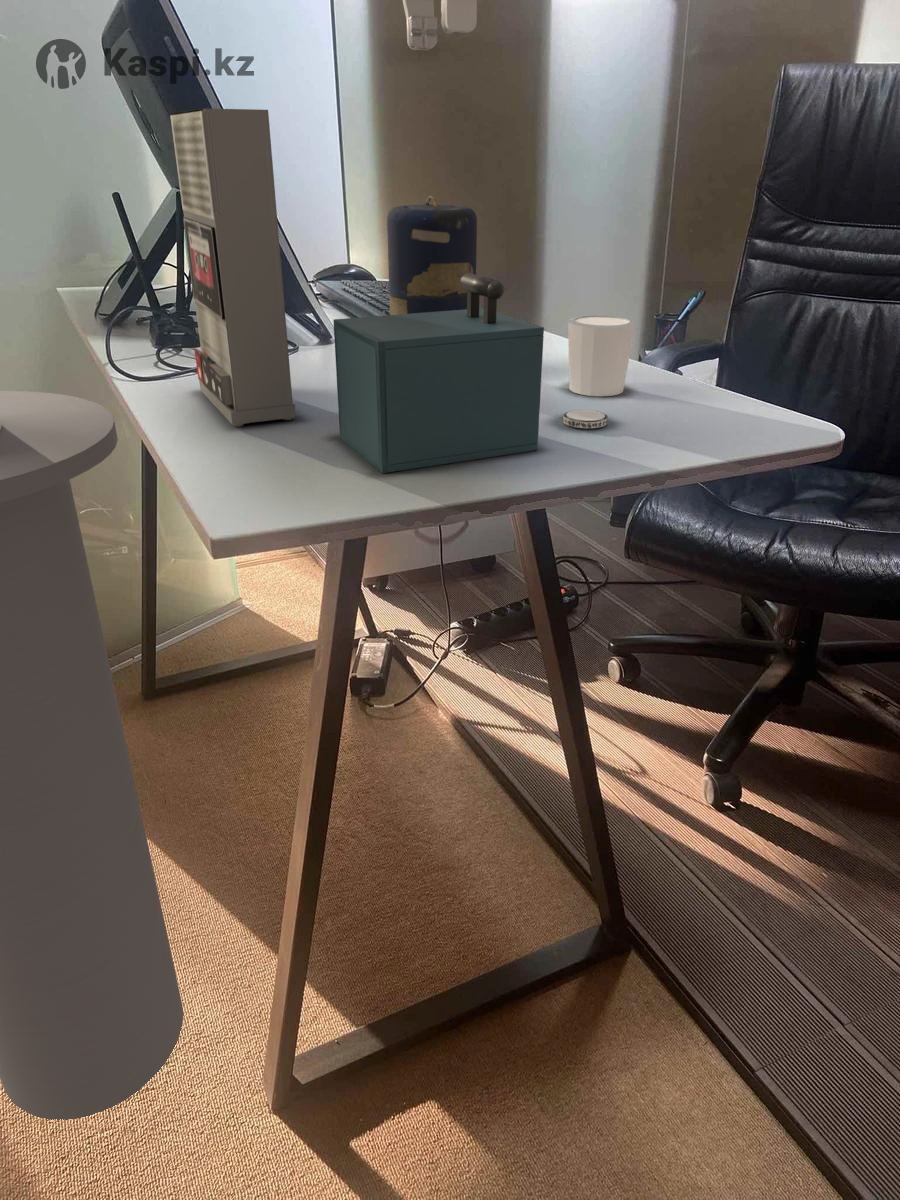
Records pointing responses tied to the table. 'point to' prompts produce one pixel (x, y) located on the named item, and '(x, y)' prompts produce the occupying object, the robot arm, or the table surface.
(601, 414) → the washi tape
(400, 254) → the canister
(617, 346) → the cream cup
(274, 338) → the beige tall upright block
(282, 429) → the table surface
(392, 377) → the dark green lidded box
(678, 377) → the table surface
